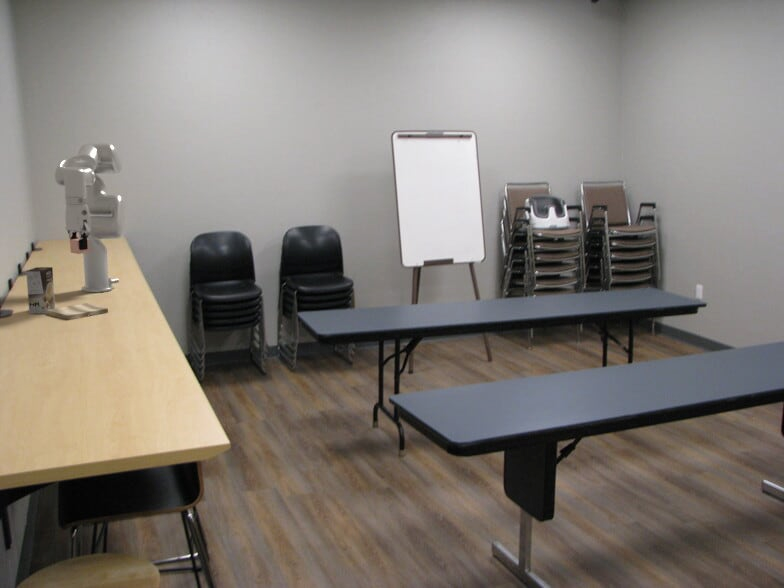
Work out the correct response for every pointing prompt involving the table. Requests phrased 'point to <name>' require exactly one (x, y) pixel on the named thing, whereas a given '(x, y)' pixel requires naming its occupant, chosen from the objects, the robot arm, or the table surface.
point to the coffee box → (40, 289)
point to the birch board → (77, 311)
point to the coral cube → (75, 246)
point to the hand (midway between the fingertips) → (79, 248)
